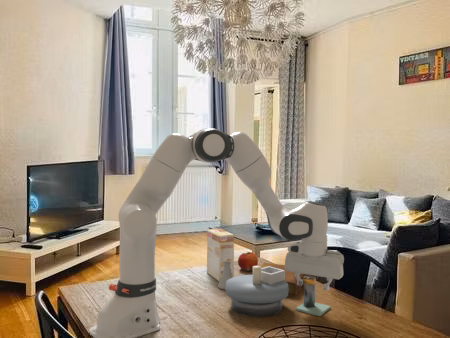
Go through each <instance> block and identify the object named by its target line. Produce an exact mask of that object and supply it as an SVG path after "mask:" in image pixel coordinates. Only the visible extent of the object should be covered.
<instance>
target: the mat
mask: <svg viewBox="0 0 450 338" xmlns="http://www.w3.org/2000/svg"><path fill="white" fill-rule="evenodd" d="M329 310H331V305H328V304H323V303H319V302H315V307H313V308H307V307H304V306H303V303H301V304H300V305H297V307H295V311H298V312H301V313H305V314H308V315H309V314H310V315H314V316H316V317H317V316H318V317H321V316H323V314H325V313H326V312H328V311H329Z"/></svg>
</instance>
